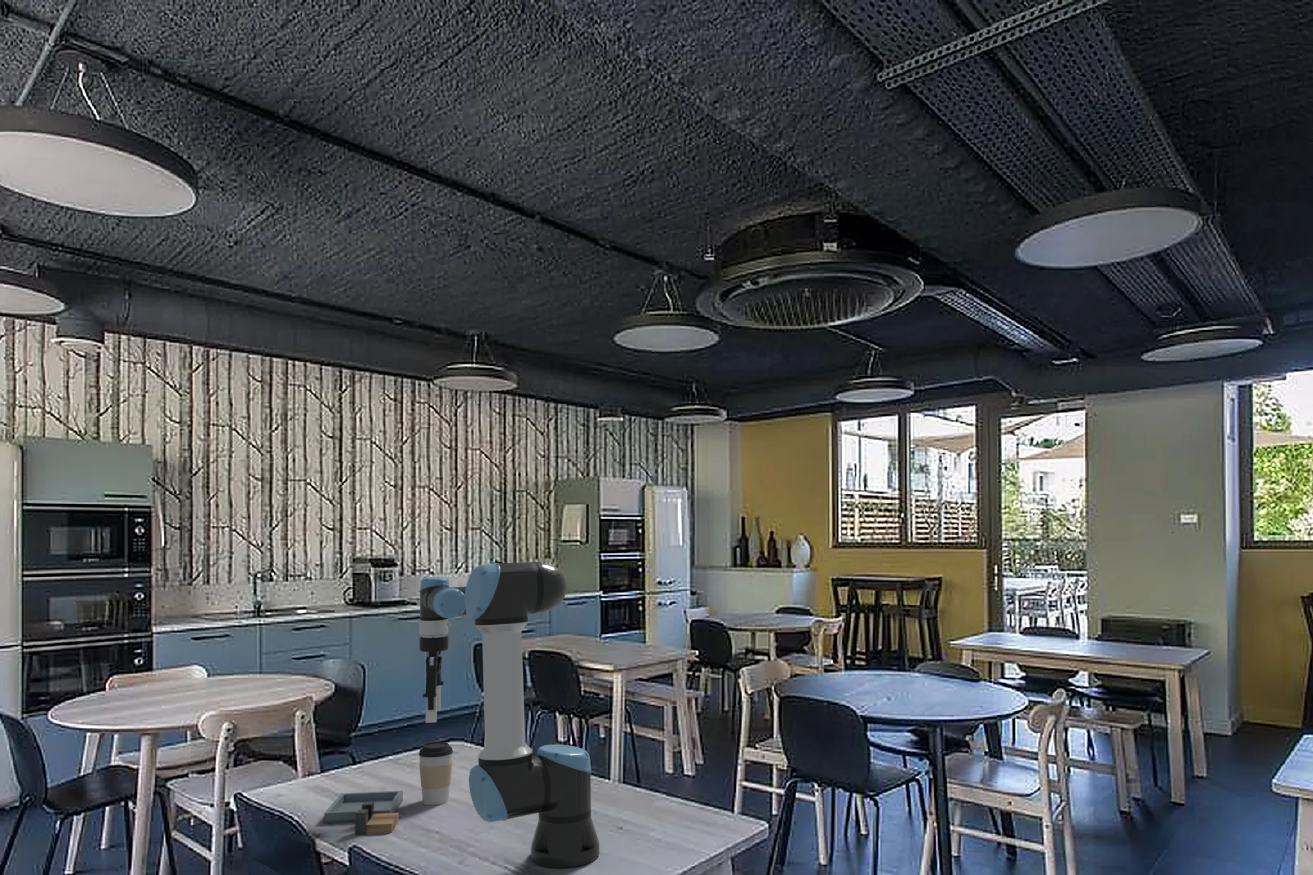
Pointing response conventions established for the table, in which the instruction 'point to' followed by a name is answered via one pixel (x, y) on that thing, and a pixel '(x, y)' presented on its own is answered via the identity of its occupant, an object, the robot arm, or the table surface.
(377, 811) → the tray
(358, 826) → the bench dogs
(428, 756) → the coffee cup
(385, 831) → the wooden block
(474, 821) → the table surface
